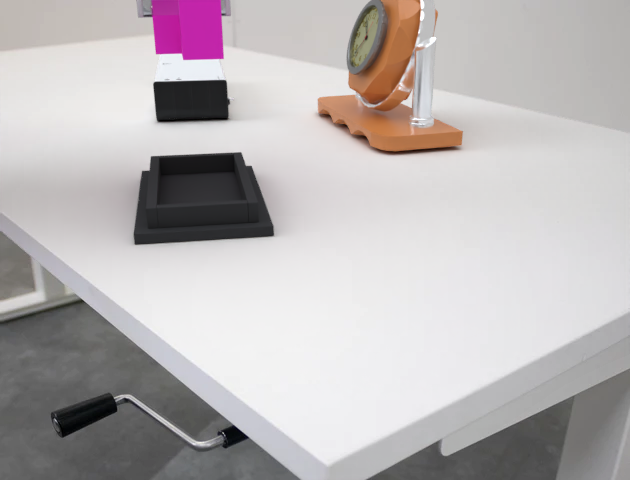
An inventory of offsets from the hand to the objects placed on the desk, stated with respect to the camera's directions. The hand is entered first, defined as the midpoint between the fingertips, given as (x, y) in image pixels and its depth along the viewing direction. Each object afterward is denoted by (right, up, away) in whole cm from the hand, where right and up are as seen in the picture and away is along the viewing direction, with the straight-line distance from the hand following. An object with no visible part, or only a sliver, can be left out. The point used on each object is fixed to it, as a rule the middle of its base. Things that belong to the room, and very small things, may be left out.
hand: (185, 16), depth 75 cm
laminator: (-8, +8, +58) cm, 59 cm away
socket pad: (+1, -18, +6) cm, 19 cm away
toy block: (0, -3, +2) cm, 3 cm away
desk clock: (+23, -2, +38) cm, 44 cm away
